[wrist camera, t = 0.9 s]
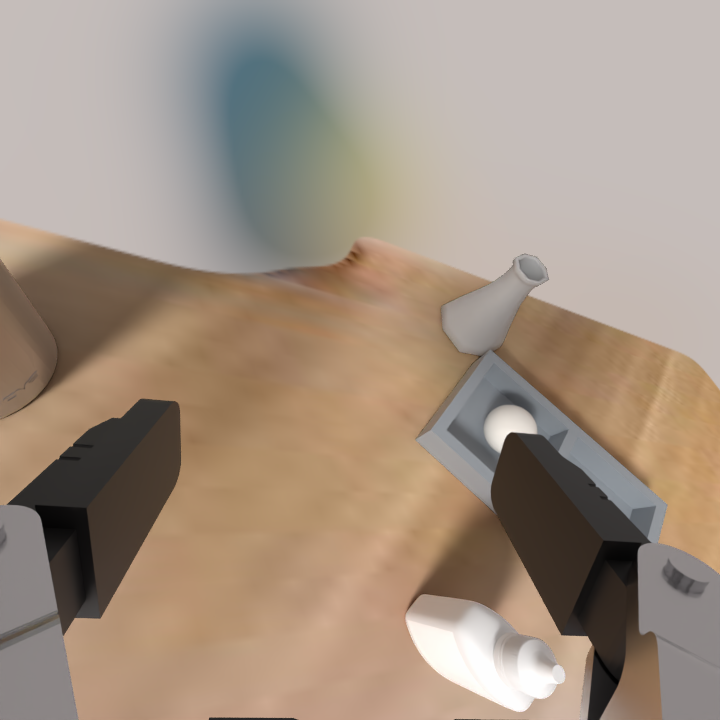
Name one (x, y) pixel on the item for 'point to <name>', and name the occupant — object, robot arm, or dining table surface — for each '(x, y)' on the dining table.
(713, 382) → the dining table surface
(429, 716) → the dining table surface
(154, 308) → the dining table surface
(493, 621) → the eye dropper bottle
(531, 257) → the flask
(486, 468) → the holder
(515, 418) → the ceramic egg
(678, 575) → the robot arm
